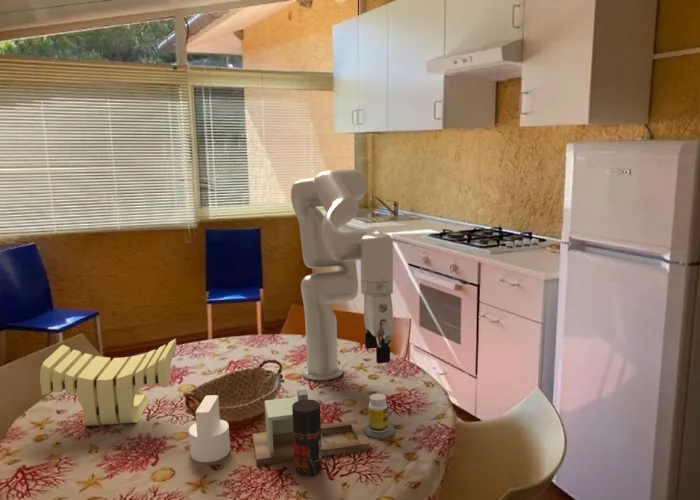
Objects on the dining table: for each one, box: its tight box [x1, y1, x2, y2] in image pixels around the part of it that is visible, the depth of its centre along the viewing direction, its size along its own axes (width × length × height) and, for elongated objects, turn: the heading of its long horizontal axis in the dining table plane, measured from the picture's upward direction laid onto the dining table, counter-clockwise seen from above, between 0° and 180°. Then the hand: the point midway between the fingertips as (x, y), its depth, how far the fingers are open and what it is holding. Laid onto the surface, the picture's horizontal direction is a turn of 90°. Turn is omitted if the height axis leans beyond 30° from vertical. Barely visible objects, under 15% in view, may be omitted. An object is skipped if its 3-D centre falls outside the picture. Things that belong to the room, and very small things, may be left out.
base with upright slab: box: [188, 394, 231, 463], centre depth 135 cm, size 9×9×12 cm
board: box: [252, 419, 371, 467], centre depth 138 cm, size 12×26×2 cm, turn 103°
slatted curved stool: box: [39, 338, 177, 427], centre depth 154 cm, size 30×16×18 cm, turn 96°
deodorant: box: [292, 399, 323, 478], centre depth 127 cm, size 6×6×15 cm
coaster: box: [362, 422, 396, 440], centre depth 144 cm, size 8×8×1 cm
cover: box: [264, 389, 309, 453], centre depth 136 cm, size 9×10×12 cm
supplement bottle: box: [368, 393, 389, 433], centre depth 144 cm, size 5×5×8 cm
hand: (377, 354), depth 141 cm, fingers open, 9 cm apart
